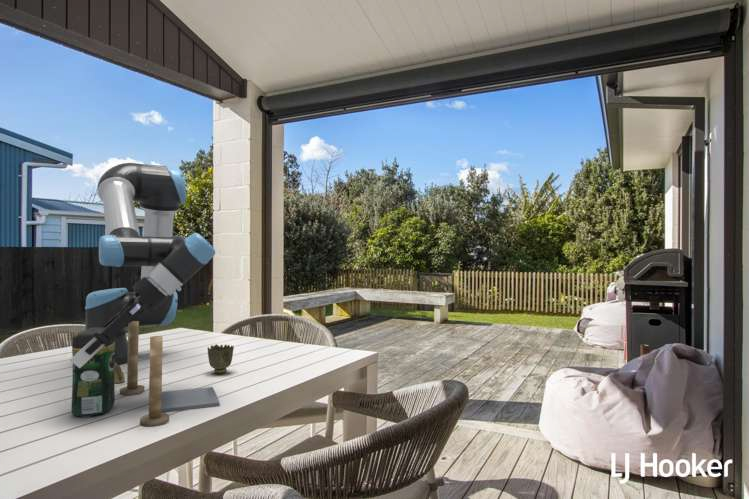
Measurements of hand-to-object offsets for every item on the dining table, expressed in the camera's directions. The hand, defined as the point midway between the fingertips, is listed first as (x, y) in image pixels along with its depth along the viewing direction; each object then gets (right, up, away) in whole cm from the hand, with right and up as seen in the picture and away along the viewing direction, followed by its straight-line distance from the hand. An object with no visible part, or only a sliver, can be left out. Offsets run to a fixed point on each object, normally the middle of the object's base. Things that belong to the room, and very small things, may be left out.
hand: (78, 358), depth 106 cm
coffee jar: (+3, -12, +1) cm, 13 cm away
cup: (+20, -13, +36) cm, 43 cm away
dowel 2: (+19, -12, -5) cm, 23 cm away
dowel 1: (+4, -12, +16) cm, 20 cm away
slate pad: (+21, -12, +10) cm, 26 cm away
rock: (-7, -12, +22) cm, 27 cm away
